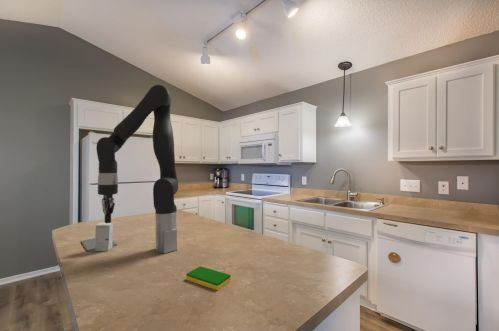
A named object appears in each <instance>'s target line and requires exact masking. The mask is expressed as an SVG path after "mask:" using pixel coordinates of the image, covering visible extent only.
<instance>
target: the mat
mask: <svg viewBox="0 0 499 331" xmlns="http://www.w3.org/2000/svg"><path fill="white" fill-rule="evenodd" d="M80 242H81V244H82V245H83V247H84V248H85V250H86V251H87V252H92V251H95V238H94V237H93V238H90V239H84V240H81V241H80ZM115 246H118V243H116V241H115V240H113V242H112V247H115Z"/></svg>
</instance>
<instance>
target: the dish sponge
mask: <svg viewBox="0 0 499 331" xmlns="http://www.w3.org/2000/svg"><path fill="white" fill-rule="evenodd" d="M186 281H188V282H192V283H195V284H198V285H200V286H203V287H206V288H208V289H213V290H216V291H219V290H221V289H222V288H224V286H226V285H227V284H229V283H230V282H231V274H228V273H225V272H221V271H218V270H215V269H212V268H208V267H205V266H198V267H196V268H194V269H192V270H190V271H189V272H186Z"/></svg>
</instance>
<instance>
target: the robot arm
mask: <svg viewBox="0 0 499 331" xmlns="http://www.w3.org/2000/svg"><path fill="white" fill-rule="evenodd" d="M171 98H172V97H171V94H170V91H169V89H168V88H167V87H165V85H162V84H156V85H153V86H151V87H150V88H149V89H148V91H147V92H146V94H145V95H144V97H143V98H142V99H141V100H140V101H139V103H138V104H137V105H136V106H135V107H134V108H133V109H132V110H131V112H130V113H129V114H128V115H126V117H124V119H122V120H121V121H120V122H119V123H118V124H117V125H116V126H115V127H114V128H113V132H112V133H111V134H110V135H109V136H107V137H106V136H103V137H100V138H99V139H98V141H97V142H96V146H95V147H96V148H95V149H96V155H97V160H98V175H97V195H98V196H102V198H101V206H102V212H103V215H104V222H105V223H112V214H113V213H114V209H115V198H114V197H113V196H114V195H116V194H117V195H118V191H119V189H118V188H119V177H118V162H117V160H116V153H117V152H118V151H120V149H122V147H123V146H124V145H125V143H126V141H128V140H129V139H130V138H131V137H132V136H133V135H134V134H135V133H136V132H137V131H138V130H139V129H140V128H141V126H143V124H144V122H145V120H146V119H147V117H149V115H151V113H152V112H153V117H154V118H153V120H154V121H153V126H152V128H153V129H152V146H153V152H154V153H153V154H154V155H155V158H156V160H157V163H158V166H159V174H160V178H158V179H157V180H156V181H154V183H153V186H152V195H153V196H152V197H153V198H152V199H153V208H154V211H155V215H154V216H155V252H157V253H159V254H167V253H171V252H174V251H177V250H178V226H177V224H178V223H177V222H178V221H177V216H178V215H177V213H178V212H177V207H178V206H177V205H176V204H175V197H174V196H175V195H176V193H177V192H178V190H179V181H178V176H177V171H176V162H175V161H176V158H175V157H176V156H175V141H174V140H175V139H174V132H173V126H172V121H171V120H172V119H171V104H172V103H171V102H172V100H171Z"/></svg>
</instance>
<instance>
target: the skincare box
mask: <svg viewBox="0 0 499 331" xmlns="http://www.w3.org/2000/svg"><path fill="white" fill-rule="evenodd" d="M94 237H95V250H94V251H95V252H96V251H97V252H108V251H110V250H111V249H112V248H113V246H112V242H113V241H114V240H113V238H114V222H111V223H105V221H100V222H98V223H97V224H96V225H95V236H94Z"/></svg>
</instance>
